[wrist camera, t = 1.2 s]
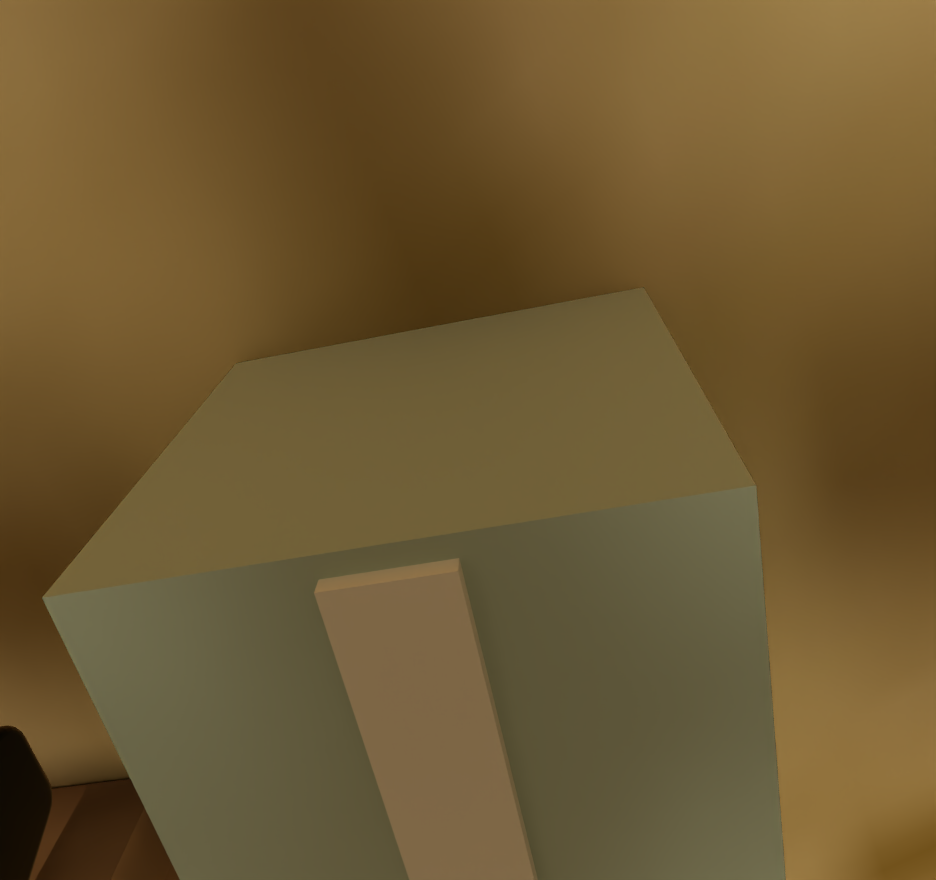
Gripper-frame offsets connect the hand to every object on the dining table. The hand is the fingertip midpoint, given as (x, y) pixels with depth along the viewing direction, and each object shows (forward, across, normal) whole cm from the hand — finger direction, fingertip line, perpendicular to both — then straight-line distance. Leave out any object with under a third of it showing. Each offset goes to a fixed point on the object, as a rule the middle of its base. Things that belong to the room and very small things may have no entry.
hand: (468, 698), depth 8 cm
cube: (+4, 0, 0) cm, 4 cm away
